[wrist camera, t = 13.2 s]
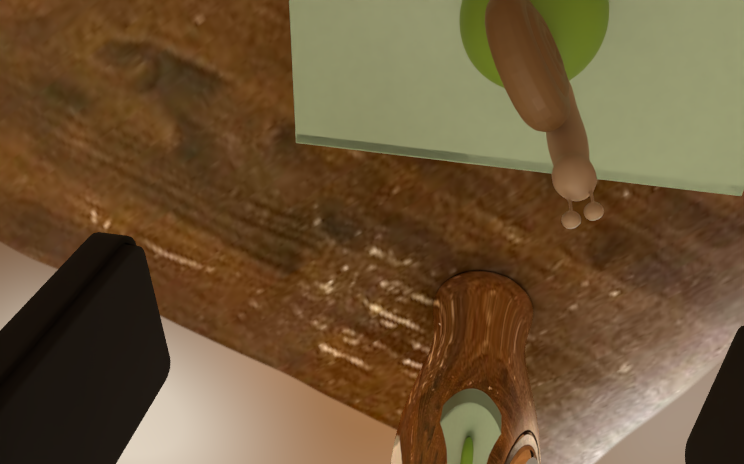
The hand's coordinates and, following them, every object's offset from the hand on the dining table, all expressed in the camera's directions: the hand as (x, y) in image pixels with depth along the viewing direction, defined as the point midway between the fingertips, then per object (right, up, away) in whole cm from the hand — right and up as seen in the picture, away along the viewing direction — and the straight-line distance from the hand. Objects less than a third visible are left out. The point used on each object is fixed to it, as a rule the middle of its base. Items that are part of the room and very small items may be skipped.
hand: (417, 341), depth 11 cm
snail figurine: (+6, +11, +16) cm, 21 cm away
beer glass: (+6, -3, +30) cm, 31 cm away
